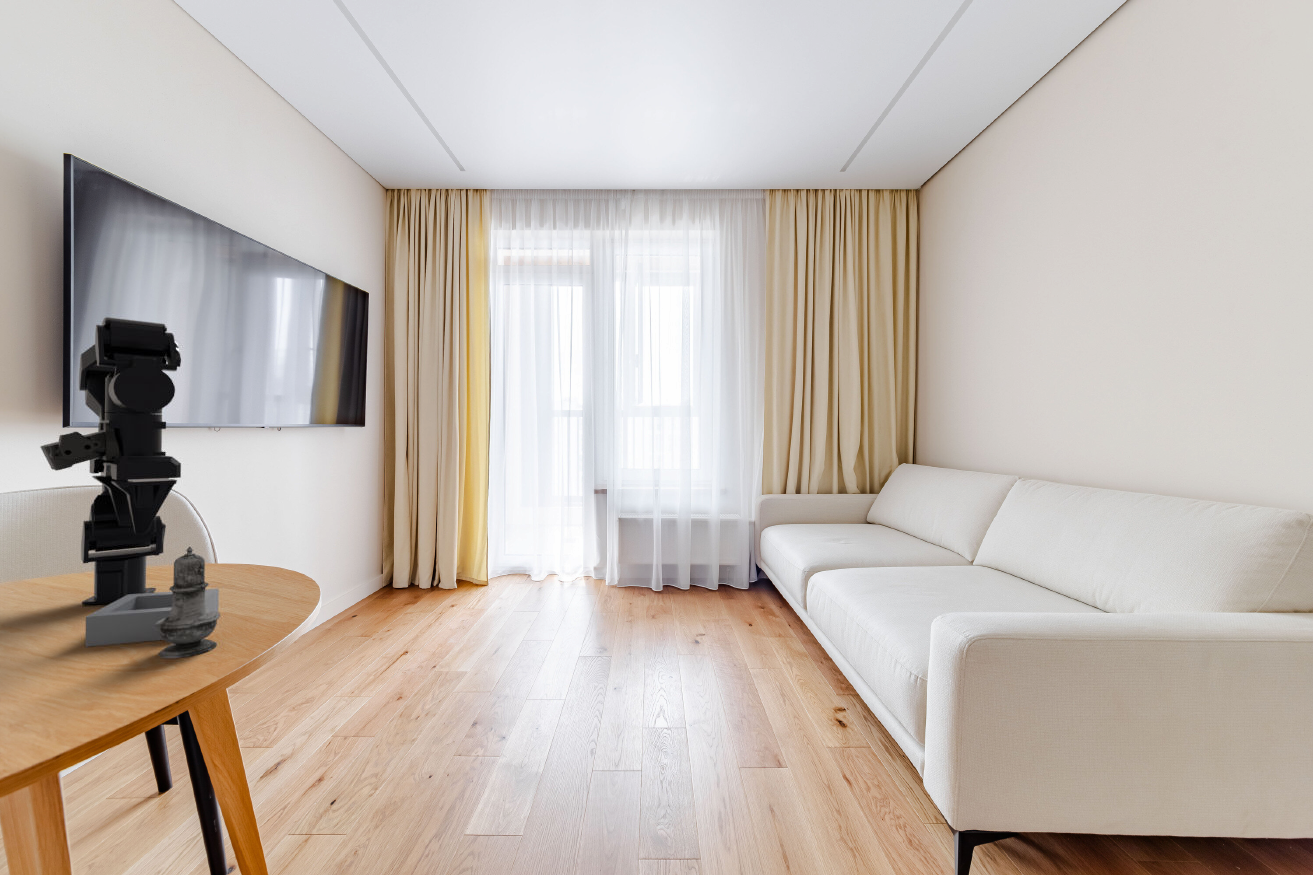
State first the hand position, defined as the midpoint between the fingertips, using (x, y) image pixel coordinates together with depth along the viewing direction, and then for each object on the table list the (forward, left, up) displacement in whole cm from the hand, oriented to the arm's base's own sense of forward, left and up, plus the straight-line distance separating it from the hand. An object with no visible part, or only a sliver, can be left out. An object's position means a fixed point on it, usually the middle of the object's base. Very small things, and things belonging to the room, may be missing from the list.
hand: (132, 529), depth 78 cm
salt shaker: (+16, +11, -12) cm, 23 cm away
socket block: (+6, +5, -12) cm, 14 cm away
